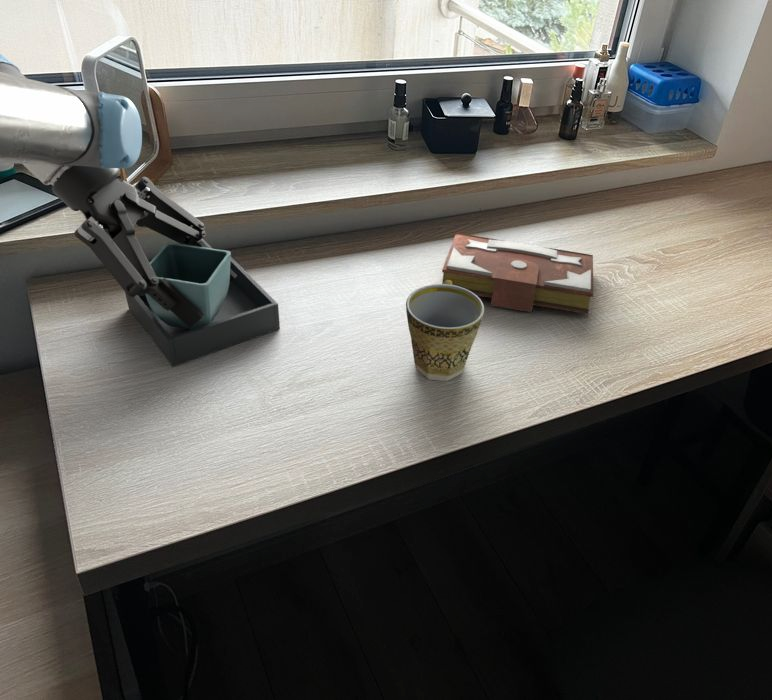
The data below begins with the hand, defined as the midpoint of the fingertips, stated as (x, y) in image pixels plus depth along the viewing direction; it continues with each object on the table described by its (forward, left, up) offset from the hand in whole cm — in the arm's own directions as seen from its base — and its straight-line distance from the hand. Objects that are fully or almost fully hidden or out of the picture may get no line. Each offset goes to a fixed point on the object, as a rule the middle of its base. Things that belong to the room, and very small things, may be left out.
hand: (214, 300), depth 95 cm
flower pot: (-2, +2, -4) cm, 5 cm away
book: (+44, -13, -6) cm, 46 cm away
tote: (0, +4, -6) cm, 7 cm away
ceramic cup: (+22, -21, -6) cm, 31 cm away
